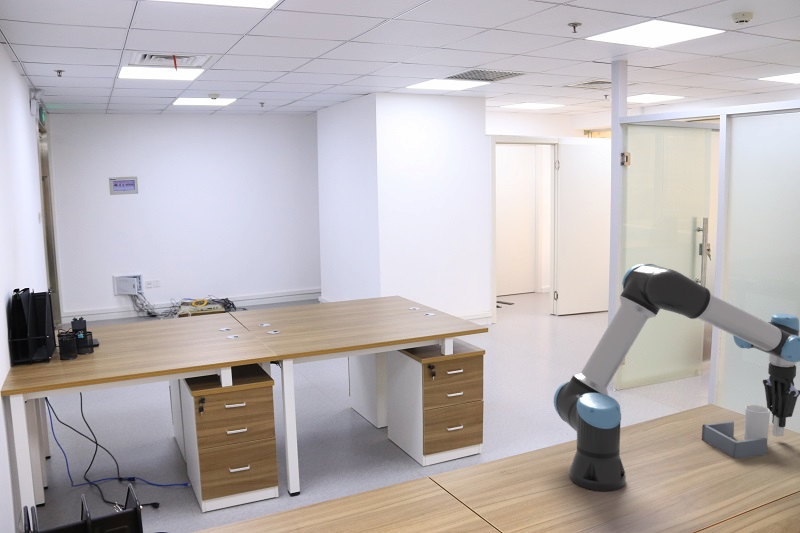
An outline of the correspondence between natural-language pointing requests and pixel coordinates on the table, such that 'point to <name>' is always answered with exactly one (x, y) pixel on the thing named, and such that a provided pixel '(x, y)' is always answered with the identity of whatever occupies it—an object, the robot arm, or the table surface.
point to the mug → (756, 422)
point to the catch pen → (732, 441)
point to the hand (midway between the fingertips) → (778, 435)
